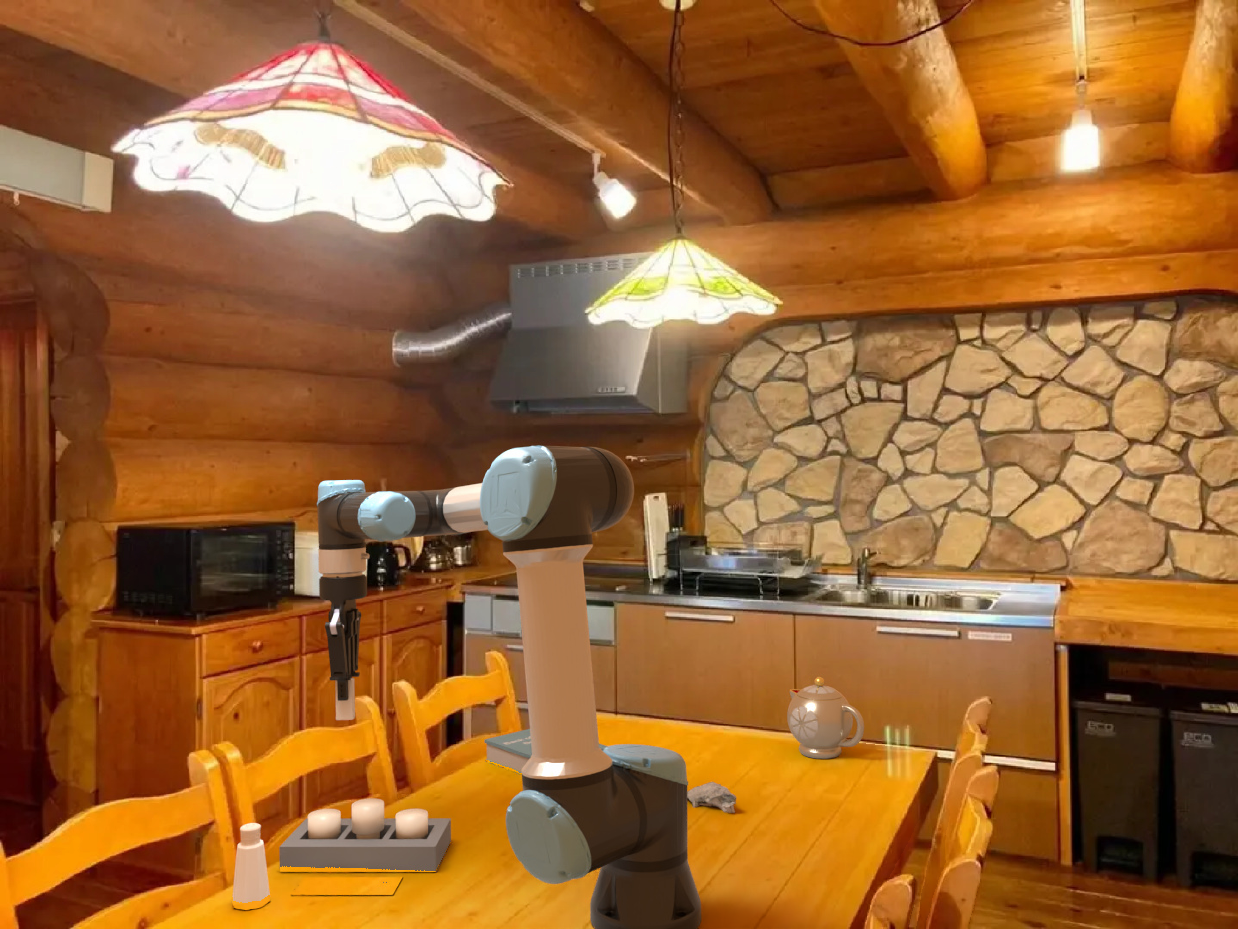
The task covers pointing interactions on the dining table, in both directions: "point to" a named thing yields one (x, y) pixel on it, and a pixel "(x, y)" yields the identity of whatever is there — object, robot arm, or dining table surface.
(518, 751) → the book
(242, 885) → the salt shaker
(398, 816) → the button
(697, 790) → the stone
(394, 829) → the gray compartment tray
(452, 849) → the dining table surface
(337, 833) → the button
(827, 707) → the teapot
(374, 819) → the button mid
